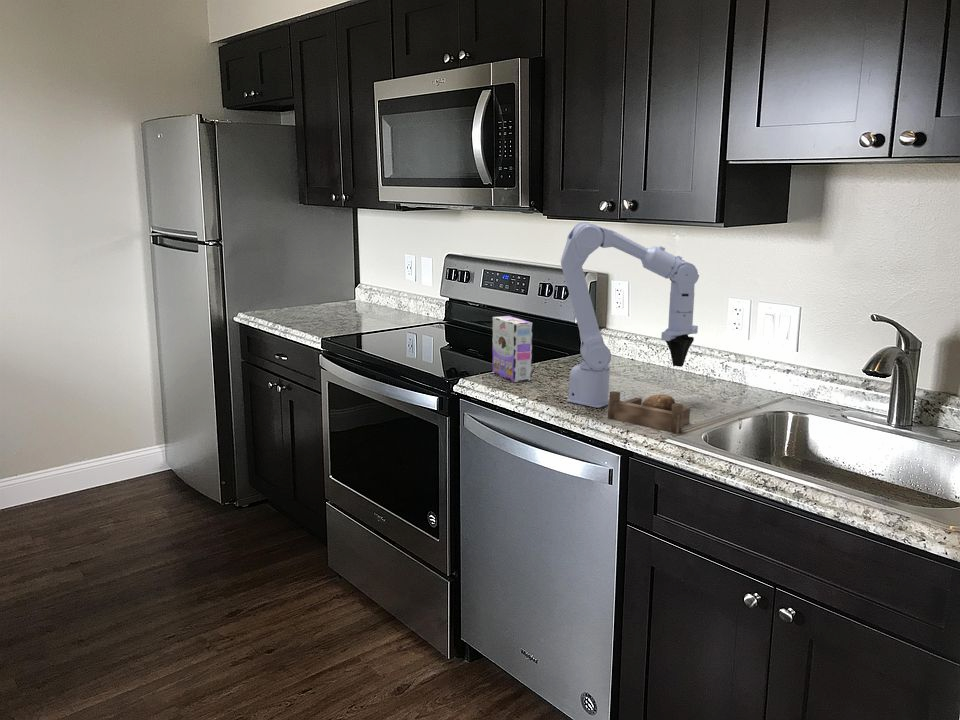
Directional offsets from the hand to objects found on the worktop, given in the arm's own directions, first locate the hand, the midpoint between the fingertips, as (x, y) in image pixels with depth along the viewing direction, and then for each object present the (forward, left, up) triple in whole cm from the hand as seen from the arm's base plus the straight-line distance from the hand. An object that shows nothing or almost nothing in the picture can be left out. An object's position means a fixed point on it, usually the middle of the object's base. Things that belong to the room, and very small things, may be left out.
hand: (678, 365), depth 205 cm
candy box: (-48, -6, -10) cm, 49 cm away
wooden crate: (+4, -19, -9) cm, 21 cm away
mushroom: (+4, -16, -10) cm, 19 cm away
